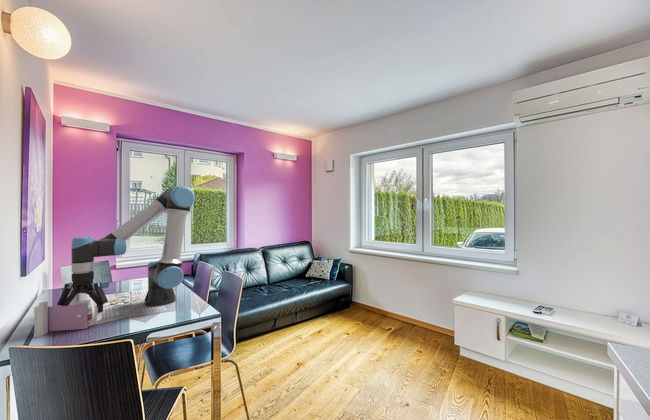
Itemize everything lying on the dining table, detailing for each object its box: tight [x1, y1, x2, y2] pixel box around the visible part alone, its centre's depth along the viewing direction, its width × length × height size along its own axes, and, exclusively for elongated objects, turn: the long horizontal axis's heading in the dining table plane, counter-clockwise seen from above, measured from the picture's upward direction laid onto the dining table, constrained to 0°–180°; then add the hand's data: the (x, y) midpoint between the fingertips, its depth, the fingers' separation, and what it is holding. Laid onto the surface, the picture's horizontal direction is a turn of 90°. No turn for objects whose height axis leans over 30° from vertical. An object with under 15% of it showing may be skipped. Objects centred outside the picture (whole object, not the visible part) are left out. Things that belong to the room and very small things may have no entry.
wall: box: [33, 293, 87, 338], centre depth 126 cm, size 2×25×13 cm, turn 2°
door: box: [48, 304, 89, 333], centre depth 120 cm, size 3×15×10 cm, turn 100°
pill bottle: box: [76, 299, 93, 327], centre depth 125 cm, size 6×6×11 cm
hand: (82, 320), depth 125 cm, fingers open, 12 cm apart
